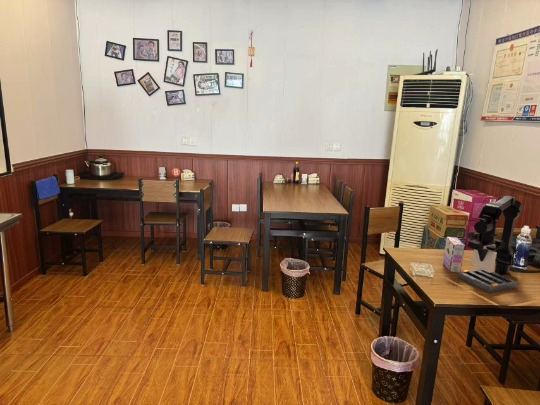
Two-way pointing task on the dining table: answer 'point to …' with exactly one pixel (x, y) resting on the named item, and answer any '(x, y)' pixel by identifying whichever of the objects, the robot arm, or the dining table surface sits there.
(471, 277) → the rack
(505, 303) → the dining table surface
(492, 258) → the panel
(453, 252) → the candy box
